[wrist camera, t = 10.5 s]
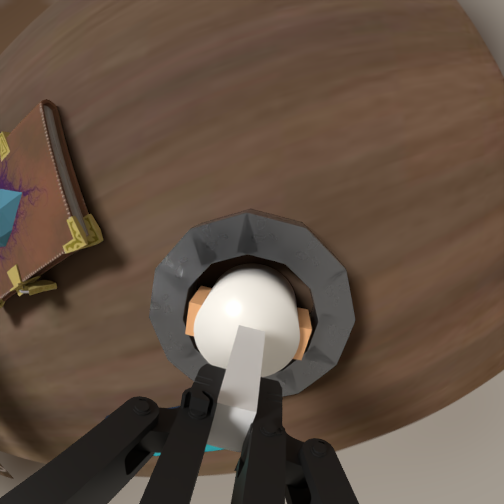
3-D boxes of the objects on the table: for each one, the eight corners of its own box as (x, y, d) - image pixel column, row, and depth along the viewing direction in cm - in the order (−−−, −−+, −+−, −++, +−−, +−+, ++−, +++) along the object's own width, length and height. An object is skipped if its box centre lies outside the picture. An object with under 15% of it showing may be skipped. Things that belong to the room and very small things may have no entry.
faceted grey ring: (156, 352, 24) (144, 370, 21) (182, 192, 21) (168, 193, 18) (309, 391, 24) (312, 413, 21) (367, 240, 21) (380, 249, 18)
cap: (198, 328, 24) (180, 362, 19) (210, 252, 22) (191, 273, 17) (291, 350, 23) (292, 388, 18) (313, 275, 22) (322, 302, 17)
